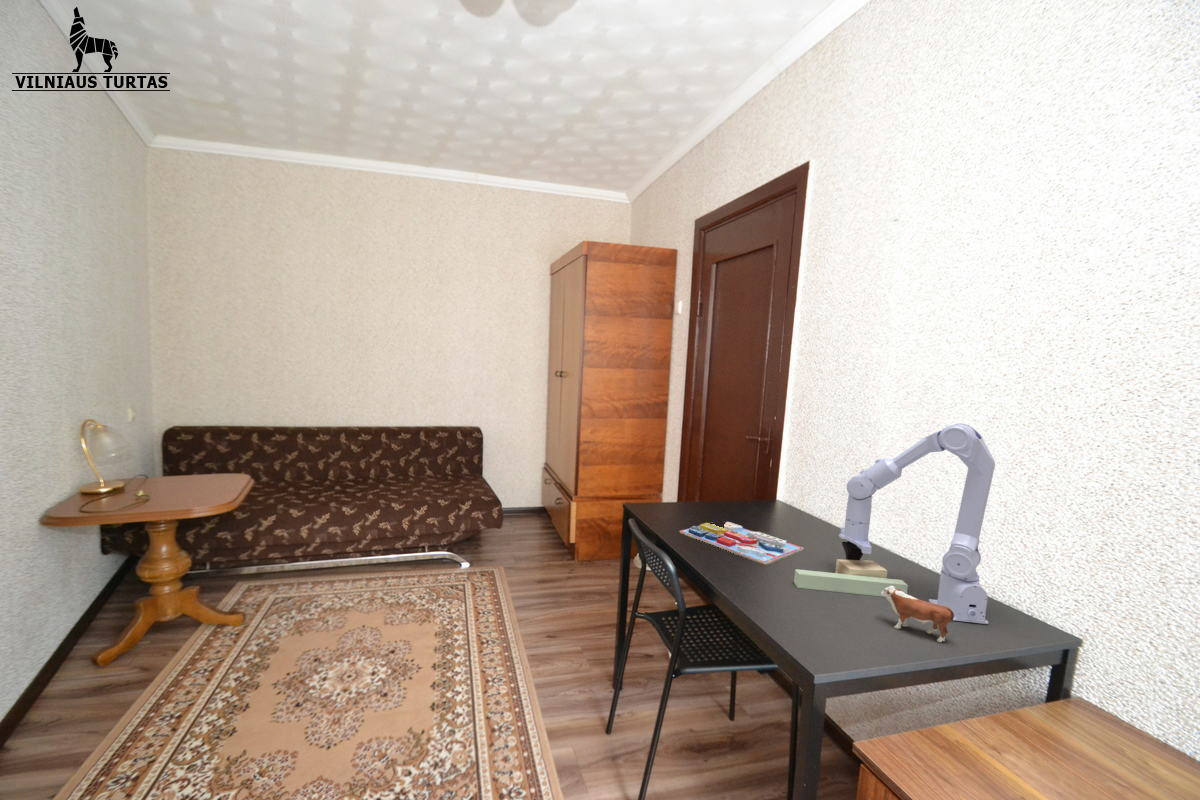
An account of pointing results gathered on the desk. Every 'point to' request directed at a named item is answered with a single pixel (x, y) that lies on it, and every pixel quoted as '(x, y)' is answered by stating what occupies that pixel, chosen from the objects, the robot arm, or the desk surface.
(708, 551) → the desk surface
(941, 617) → the bull figurine
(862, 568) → the beech block
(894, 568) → the desk surface
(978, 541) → the robot arm
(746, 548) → the puzzle board
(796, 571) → the pale green block
